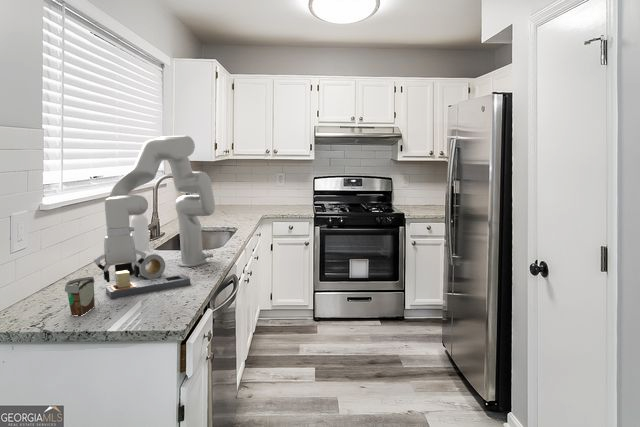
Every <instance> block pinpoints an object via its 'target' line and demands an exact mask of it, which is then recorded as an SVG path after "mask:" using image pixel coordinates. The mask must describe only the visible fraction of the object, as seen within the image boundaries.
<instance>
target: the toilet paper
mask: <svg viewBox="0 0 640 427" xmlns="http://www.w3.org/2000/svg"><path fill="white" fill-rule="evenodd" d="M142 252H144V253H146V256H145V259H144V261H143V262H142V264H141V265H140V266H139V269H140V275H139V276H141V277H144V278H146V279H147V280H150V279H156V278H160V277H161V276H162V274H164V272H165V269H166V261H165V259H164V258H163V257H162V256H161V255H159V254H157V253H153V252H151V251H150V252H148V251H142ZM136 257H137V258H136V261H138V260H139V259H140V258H141V255H139V254H136ZM149 260H150V261H149ZM148 261H149V262H150V266H149V267H148V268H146V267H147V264H148V263H149V262H148ZM134 266H135V264H134V263H133V262H132V268H133V270H134Z"/></svg>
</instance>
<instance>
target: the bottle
mask: <svg viewBox="0 0 640 427" xmlns="http://www.w3.org/2000/svg"><path fill="white" fill-rule="evenodd" d="M129 223H130V227H134V231H132V232H131V234H132V236H133V239H134V243H135V249H136V250H138V251H141V252H142V251H148V252H151V247H150V246H151V245H150V233H149V221H148V218H147V216H146V214H145V213H143V214H141V215H131V217H130V219H129ZM149 262H151V260H149V261H148V262H147V263H149Z"/></svg>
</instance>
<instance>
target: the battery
mask: <svg viewBox="0 0 640 427" xmlns="http://www.w3.org/2000/svg"><path fill="white" fill-rule="evenodd" d="M124 270H127V271H129V274H130V276H132V275H134V270H133V268H132V262H131V263H125V264H118V265H114V273H115V272H118V271H124Z"/></svg>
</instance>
